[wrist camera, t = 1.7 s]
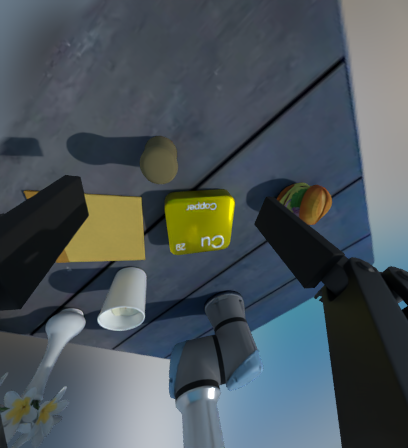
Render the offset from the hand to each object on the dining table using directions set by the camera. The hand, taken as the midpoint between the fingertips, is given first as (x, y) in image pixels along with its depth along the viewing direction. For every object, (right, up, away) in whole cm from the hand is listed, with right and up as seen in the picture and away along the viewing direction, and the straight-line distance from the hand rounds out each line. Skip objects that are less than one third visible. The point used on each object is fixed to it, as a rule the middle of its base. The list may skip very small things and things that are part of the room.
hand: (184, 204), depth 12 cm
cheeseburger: (+24, +5, +30) cm, 39 cm away
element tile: (0, 0, +28) cm, 28 cm away
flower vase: (-40, -29, +38) cm, 62 cm away
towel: (-23, -3, +25) cm, 34 cm away
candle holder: (-19, -16, +34) cm, 43 cm away
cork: (-7, +12, +19) cm, 23 cm away
